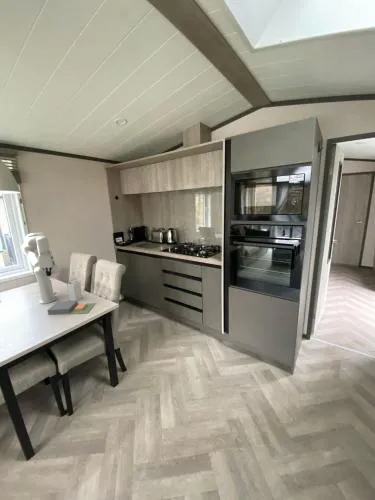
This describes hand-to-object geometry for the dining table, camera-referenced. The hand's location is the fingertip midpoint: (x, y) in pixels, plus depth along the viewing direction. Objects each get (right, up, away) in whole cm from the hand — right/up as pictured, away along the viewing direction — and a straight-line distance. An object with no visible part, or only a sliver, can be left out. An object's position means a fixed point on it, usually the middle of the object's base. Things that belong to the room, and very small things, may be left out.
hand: (49, 275), depth 170 cm
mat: (+25, -26, +2) cm, 36 cm away
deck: (+10, -27, +2) cm, 29 cm away
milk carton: (+11, -23, +20) cm, 32 cm away
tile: (+24, -24, +2) cm, 34 cm away
